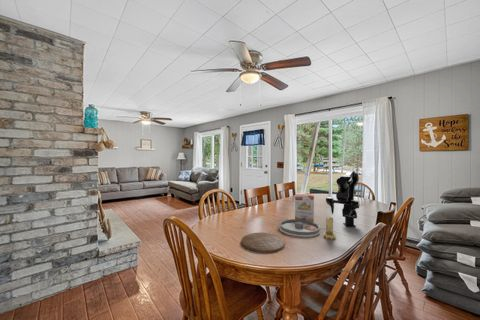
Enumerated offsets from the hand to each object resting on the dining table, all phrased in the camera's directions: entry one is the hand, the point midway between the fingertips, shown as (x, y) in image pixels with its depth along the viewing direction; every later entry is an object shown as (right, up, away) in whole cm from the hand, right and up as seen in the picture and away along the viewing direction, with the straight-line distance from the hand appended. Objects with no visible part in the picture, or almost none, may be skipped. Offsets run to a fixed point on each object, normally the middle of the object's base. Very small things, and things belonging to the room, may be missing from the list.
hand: (340, 215), depth 126 cm
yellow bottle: (-7, -14, 0) cm, 15 cm away
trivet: (-49, -15, -8) cm, 52 cm away
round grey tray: (-21, -14, +15) cm, 29 cm away
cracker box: (-12, -14, +33) cm, 38 cm away
